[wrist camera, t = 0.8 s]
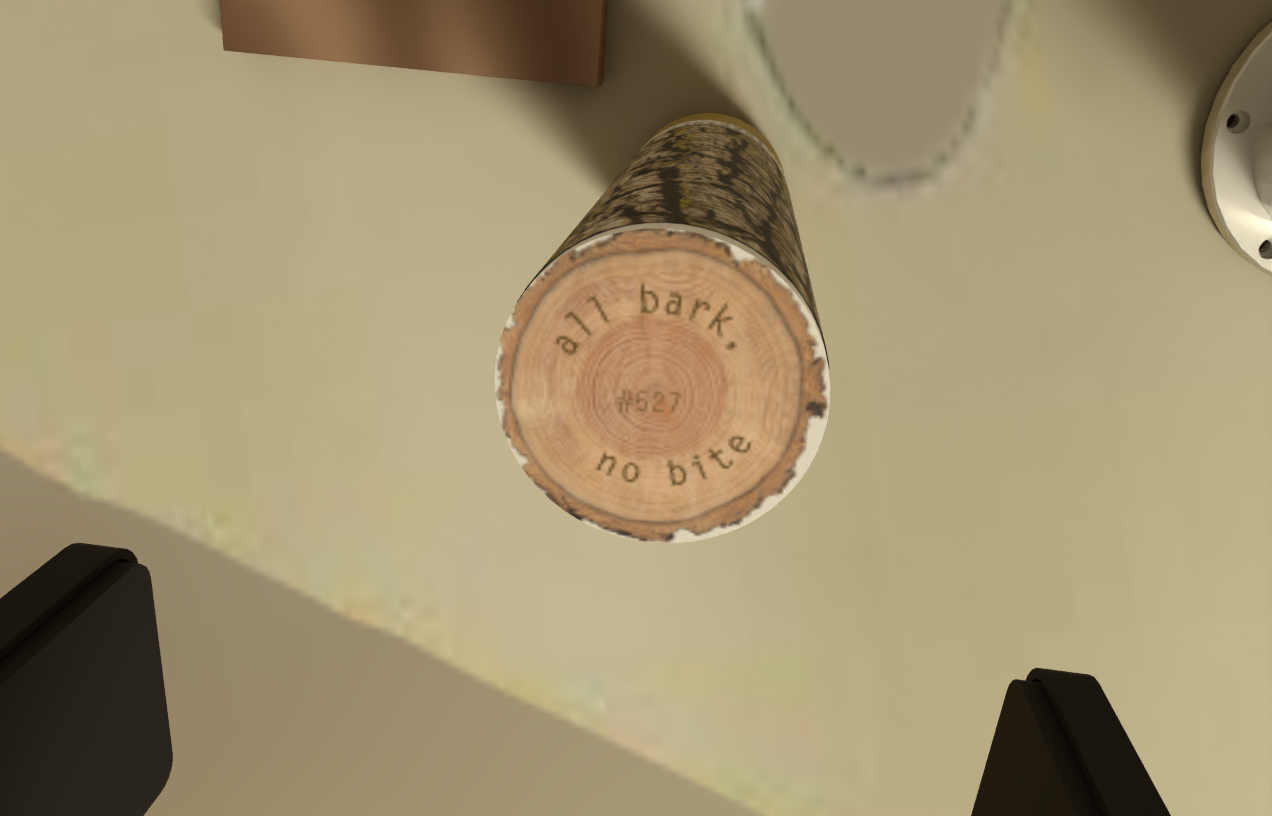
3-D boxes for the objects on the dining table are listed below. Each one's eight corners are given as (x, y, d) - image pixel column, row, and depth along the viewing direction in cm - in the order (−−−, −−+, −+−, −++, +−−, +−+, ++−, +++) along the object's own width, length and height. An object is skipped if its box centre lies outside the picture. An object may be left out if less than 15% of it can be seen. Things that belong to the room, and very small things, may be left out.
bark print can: (631, 108, 41) (486, 220, 18) (791, 112, 41) (848, 233, 18) (629, 263, 44) (499, 533, 21) (779, 269, 43) (816, 554, 20)
